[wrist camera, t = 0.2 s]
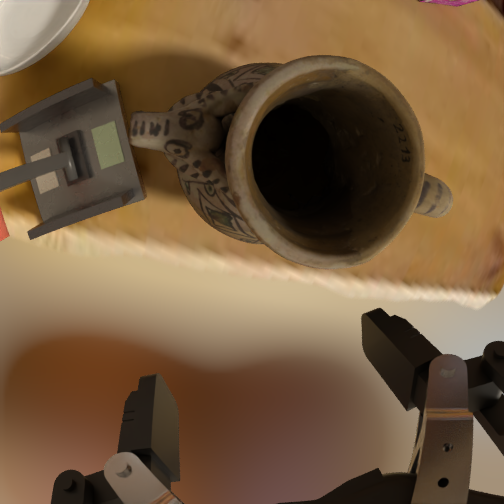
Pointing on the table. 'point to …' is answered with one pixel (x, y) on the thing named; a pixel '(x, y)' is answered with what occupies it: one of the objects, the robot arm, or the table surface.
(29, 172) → the switch lever
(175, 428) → the robot arm
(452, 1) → the candy bar box
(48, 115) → the switch box
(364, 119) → the decorative pitcher
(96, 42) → the table surface
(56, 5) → the serving bowl
